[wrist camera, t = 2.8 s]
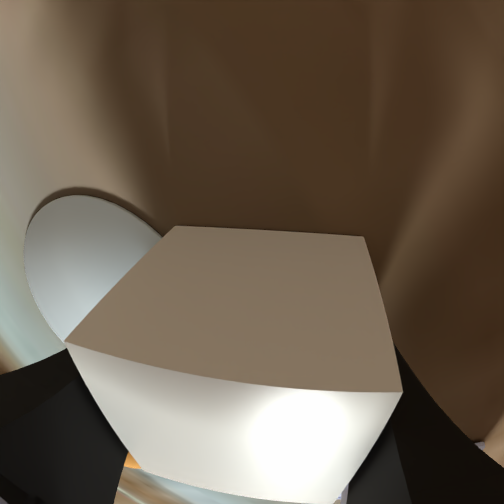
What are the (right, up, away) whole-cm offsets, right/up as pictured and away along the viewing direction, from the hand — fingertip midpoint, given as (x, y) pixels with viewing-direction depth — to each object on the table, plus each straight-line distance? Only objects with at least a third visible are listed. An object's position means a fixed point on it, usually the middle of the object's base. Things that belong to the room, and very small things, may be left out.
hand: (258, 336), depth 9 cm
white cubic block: (0, +1, +1) cm, 1 cm away
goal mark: (-7, 0, +3) cm, 7 cm away
